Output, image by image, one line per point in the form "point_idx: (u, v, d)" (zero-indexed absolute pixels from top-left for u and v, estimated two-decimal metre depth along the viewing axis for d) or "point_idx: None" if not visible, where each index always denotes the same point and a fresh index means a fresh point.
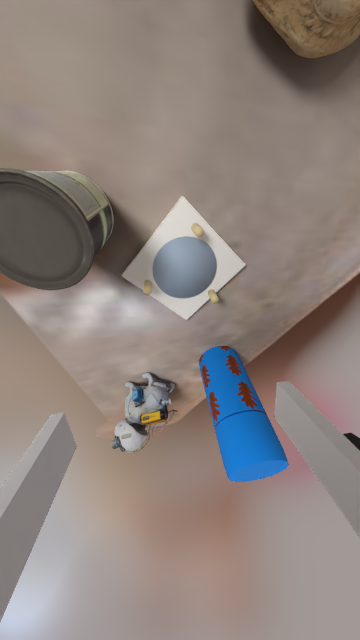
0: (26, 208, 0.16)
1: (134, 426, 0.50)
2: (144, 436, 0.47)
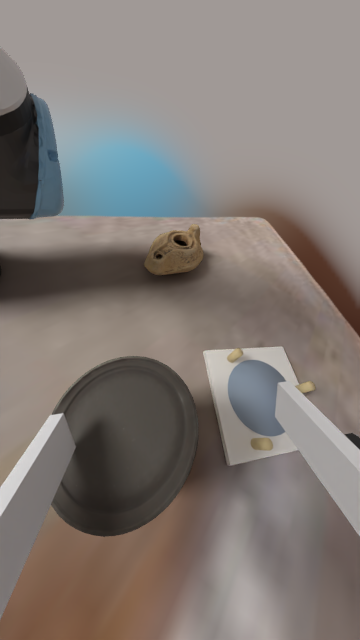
0: (105, 396, 0.14)
1: None
2: None
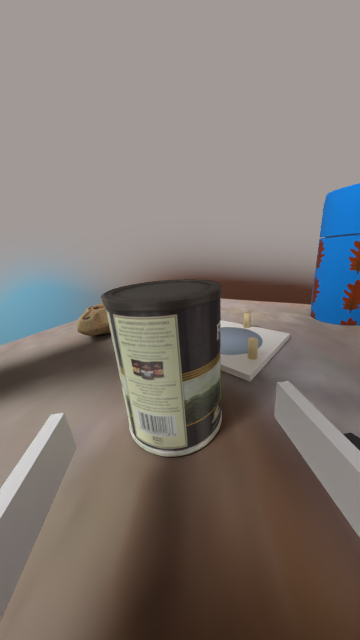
0: (137, 289, 0.18)
1: None
2: None
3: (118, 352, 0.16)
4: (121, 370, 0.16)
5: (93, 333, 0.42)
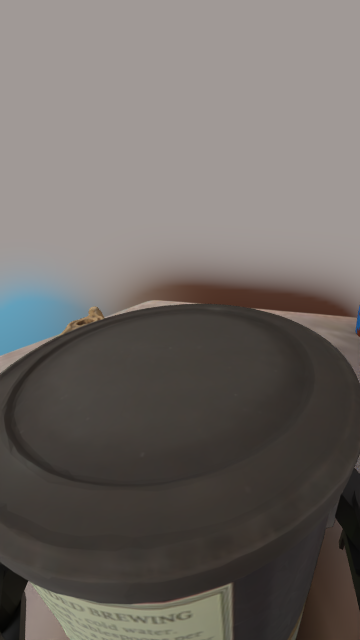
0: (105, 343, 0.08)
1: None
2: None
3: None
4: None
5: None
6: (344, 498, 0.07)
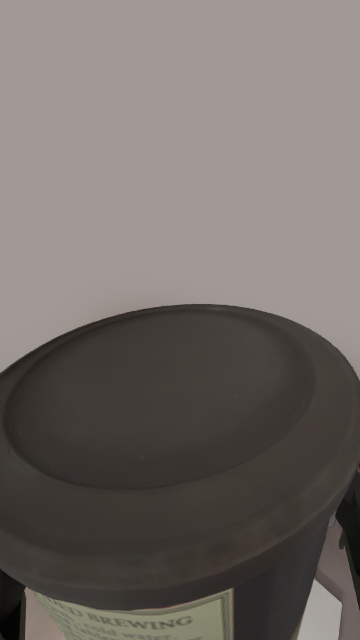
0: (105, 343, 0.08)
1: None
2: None
3: None
4: None
5: None
6: (345, 499, 0.07)
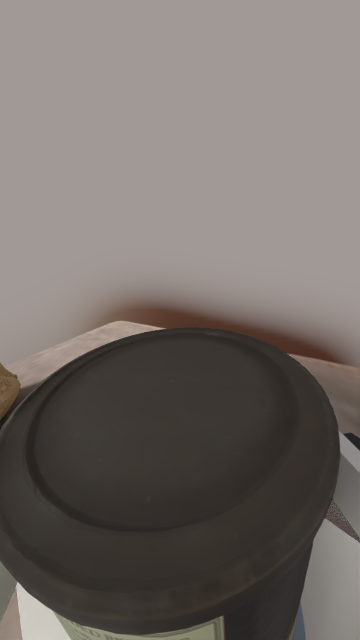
0: (111, 373, 0.08)
1: None
2: None
3: None
4: None
5: None
6: None
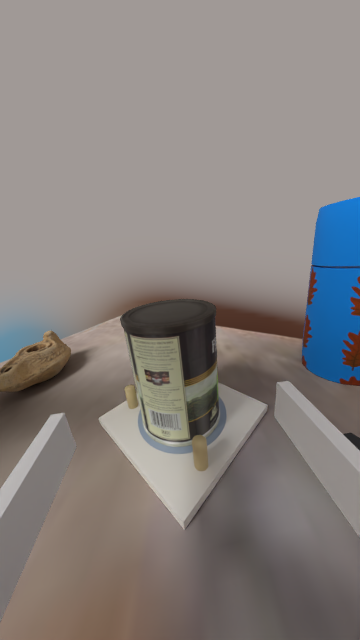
0: (148, 311, 0.22)
1: None
2: None
3: (134, 363, 0.20)
4: (136, 377, 0.20)
5: (14, 390, 0.32)
6: None
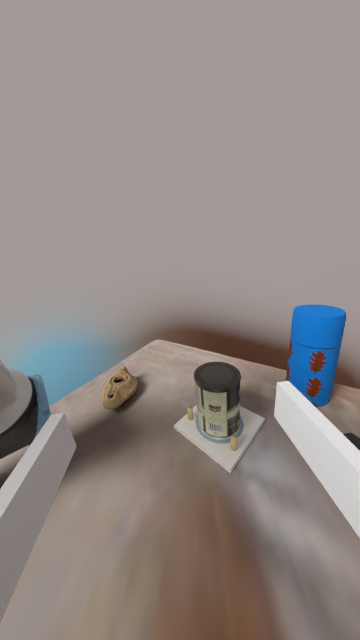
0: (205, 373, 0.45)
1: None
2: None
3: (202, 401, 0.42)
4: (202, 407, 0.43)
5: (115, 408, 0.54)
6: None
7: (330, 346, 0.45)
